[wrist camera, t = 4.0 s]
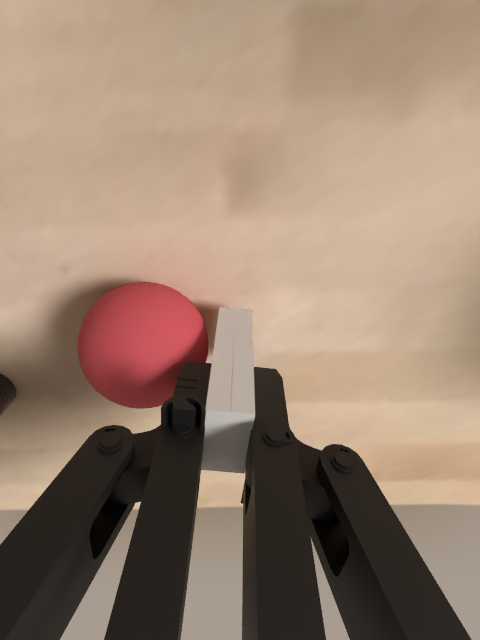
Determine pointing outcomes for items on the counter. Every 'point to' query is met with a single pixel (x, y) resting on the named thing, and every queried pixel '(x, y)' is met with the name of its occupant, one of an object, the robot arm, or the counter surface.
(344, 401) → the counter surface
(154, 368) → the ball
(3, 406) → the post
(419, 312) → the counter surface
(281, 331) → the counter surface
